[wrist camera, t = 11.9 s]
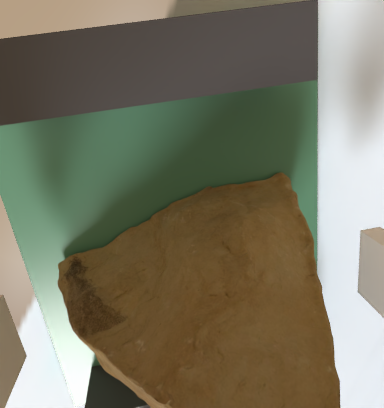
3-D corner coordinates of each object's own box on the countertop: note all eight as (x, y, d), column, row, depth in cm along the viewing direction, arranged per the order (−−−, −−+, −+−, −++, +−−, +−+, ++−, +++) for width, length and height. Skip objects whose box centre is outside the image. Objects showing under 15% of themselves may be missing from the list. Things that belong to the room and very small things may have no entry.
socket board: (304, 12, 15) (383, -18, 10) (307, 340, 21) (355, 417, 17) (-34, 55, 14) (-129, 44, 9) (78, 388, 20) (58, 486, 15)
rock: (29, 380, 15) (247, 420, 16) (-94, 452, 7) (359, 526, 8) (97, 161, 19) (273, 203, 20) (68, 45, 11) (368, 124, 12)
